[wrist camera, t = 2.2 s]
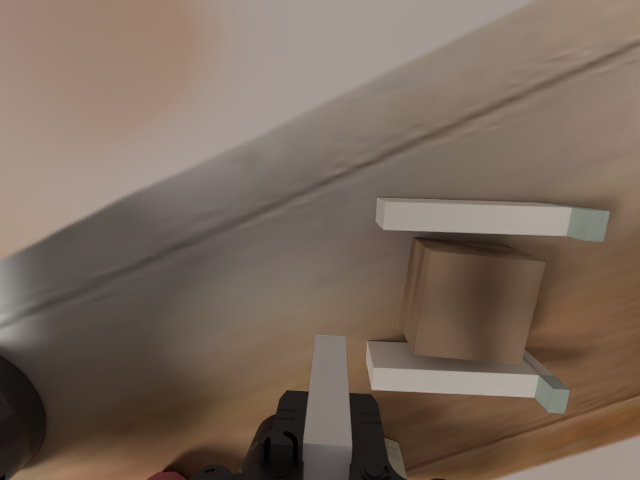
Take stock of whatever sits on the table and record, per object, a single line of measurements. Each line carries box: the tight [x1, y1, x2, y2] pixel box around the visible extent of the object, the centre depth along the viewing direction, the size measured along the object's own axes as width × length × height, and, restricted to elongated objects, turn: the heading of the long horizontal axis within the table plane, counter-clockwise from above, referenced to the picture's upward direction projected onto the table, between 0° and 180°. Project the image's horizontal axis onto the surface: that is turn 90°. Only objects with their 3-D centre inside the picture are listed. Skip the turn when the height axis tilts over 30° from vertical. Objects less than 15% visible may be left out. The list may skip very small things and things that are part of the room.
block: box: [400, 238, 546, 365], centre depth 25 cm, size 8×8×5 cm
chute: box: [366, 197, 610, 414], centre depth 24 cm, size 14×15×6 cm
